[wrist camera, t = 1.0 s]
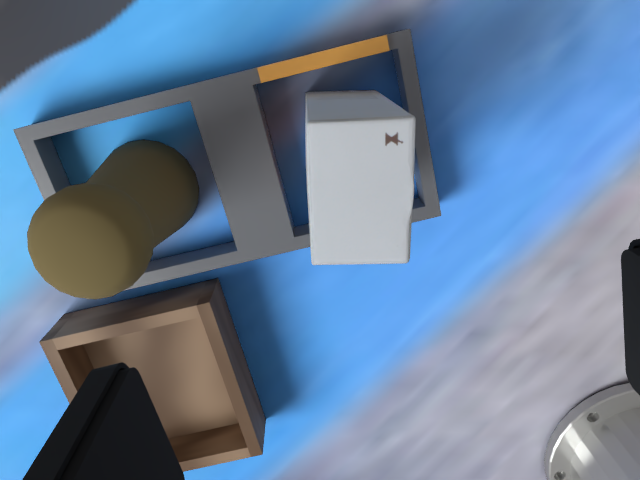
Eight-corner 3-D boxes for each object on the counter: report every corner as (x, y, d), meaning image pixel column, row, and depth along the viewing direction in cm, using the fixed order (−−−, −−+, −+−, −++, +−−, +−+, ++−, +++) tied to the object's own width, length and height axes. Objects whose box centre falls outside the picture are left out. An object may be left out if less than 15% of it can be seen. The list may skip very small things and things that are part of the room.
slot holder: (403, 30, 30) (411, 28, 27) (433, 206, 33) (442, 217, 31) (30, 124, 31) (10, 130, 28) (99, 285, 34) (85, 301, 32)
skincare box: (303, 90, 30) (304, 116, 19) (376, 88, 31) (420, 112, 19) (306, 192, 33) (309, 268, 21) (375, 190, 33) (414, 265, 21)
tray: (218, 278, 34) (209, 302, 31) (265, 419, 38) (262, 454, 35) (64, 314, 35) (39, 341, 32) (126, 450, 39) (110, 487, 36)
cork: (107, 126, 31) (10, 166, 20) (209, 156, 32) (164, 208, 21) (91, 220, 33) (-6, 300, 22) (187, 246, 34) (136, 334, 23)
